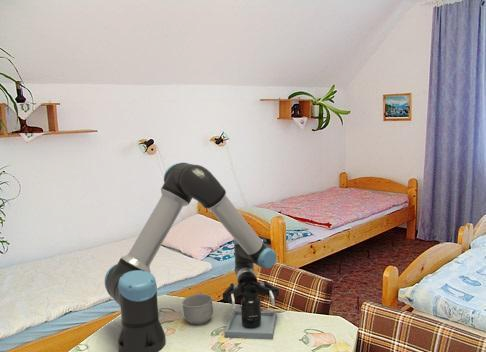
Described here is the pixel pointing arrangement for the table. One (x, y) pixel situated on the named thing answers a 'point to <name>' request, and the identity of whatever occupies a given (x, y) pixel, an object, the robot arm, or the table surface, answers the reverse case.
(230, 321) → the tray
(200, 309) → the teacup
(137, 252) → the robot arm
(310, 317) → the table surface
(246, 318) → the supplement bottle
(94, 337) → the table surface
